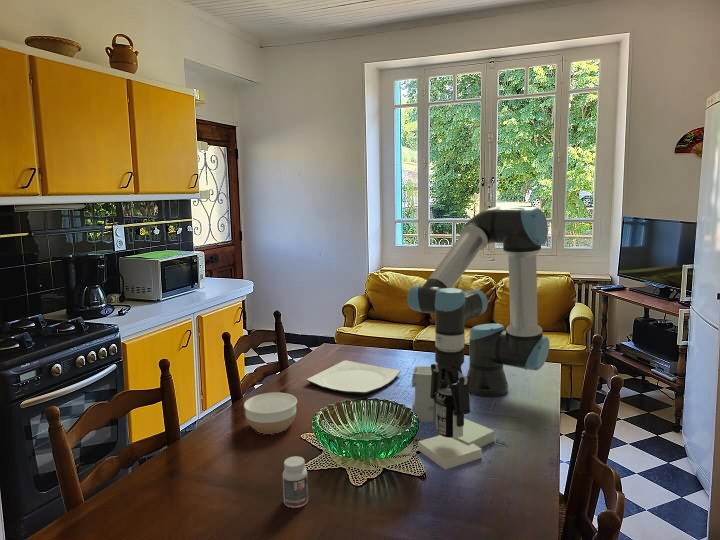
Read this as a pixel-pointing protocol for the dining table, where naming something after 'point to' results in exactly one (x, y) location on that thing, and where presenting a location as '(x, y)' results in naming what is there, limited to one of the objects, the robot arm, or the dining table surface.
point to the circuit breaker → (423, 394)
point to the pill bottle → (295, 482)
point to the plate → (354, 377)
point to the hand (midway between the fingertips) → (449, 431)
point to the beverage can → (445, 412)
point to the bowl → (270, 412)
